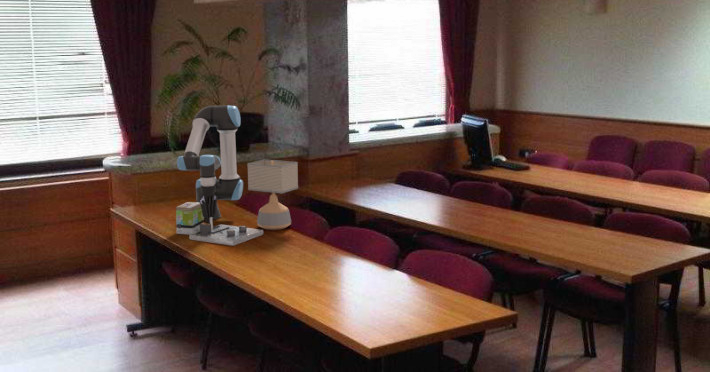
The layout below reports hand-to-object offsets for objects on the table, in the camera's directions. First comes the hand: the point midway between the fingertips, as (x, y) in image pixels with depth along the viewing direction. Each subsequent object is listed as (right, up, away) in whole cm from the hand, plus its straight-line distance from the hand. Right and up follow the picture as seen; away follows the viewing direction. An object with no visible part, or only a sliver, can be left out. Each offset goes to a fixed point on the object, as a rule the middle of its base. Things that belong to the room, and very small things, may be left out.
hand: (209, 229), depth 412 cm
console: (+9, -4, 0) cm, 10 cm away
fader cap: (-2, -2, -2) cm, 4 cm away
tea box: (-13, -2, +13) cm, 18 cm away
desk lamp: (+31, 0, +21) cm, 38 cm away
